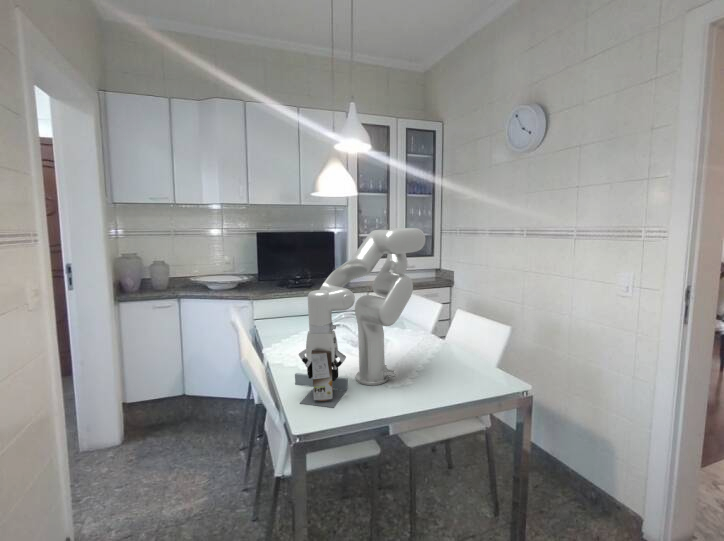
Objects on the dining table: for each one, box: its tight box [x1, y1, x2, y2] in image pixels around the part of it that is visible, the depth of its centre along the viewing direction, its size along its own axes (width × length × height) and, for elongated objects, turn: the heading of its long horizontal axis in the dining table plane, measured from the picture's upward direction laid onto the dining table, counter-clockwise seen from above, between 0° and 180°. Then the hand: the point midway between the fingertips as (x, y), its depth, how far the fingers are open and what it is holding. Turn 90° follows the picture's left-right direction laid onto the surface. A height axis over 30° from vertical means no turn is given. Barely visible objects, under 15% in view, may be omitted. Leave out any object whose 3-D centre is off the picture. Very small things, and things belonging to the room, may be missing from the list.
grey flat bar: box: [294, 372, 349, 391], centre depth 139 cm, size 20×1×4 cm, turn 73°
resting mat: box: [299, 388, 347, 409], centre depth 131 cm, size 12×12×1 cm
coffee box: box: [311, 350, 333, 400], centre depth 130 cm, size 9×6×16 cm
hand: (323, 378), depth 130 cm, fingers closed on coffee box, 8 cm apart
